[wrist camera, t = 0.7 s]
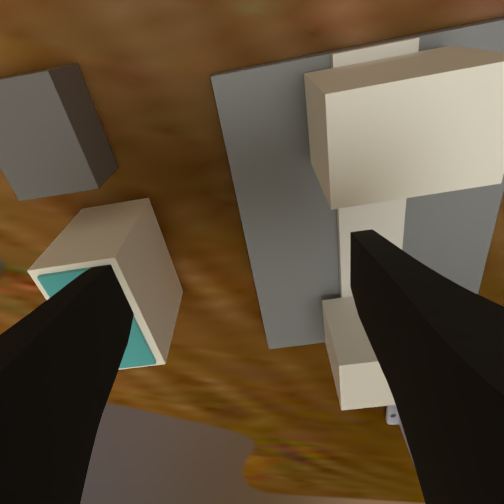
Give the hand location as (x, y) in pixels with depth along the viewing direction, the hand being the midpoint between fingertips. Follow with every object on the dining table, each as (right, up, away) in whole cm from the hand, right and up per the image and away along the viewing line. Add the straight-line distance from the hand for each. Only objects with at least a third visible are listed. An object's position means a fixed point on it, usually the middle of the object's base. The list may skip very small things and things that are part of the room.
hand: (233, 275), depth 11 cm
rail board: (+7, +3, +10) cm, 12 cm away
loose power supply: (-9, +7, +7) cm, 13 cm away
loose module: (-7, +1, +11) cm, 13 cm away
